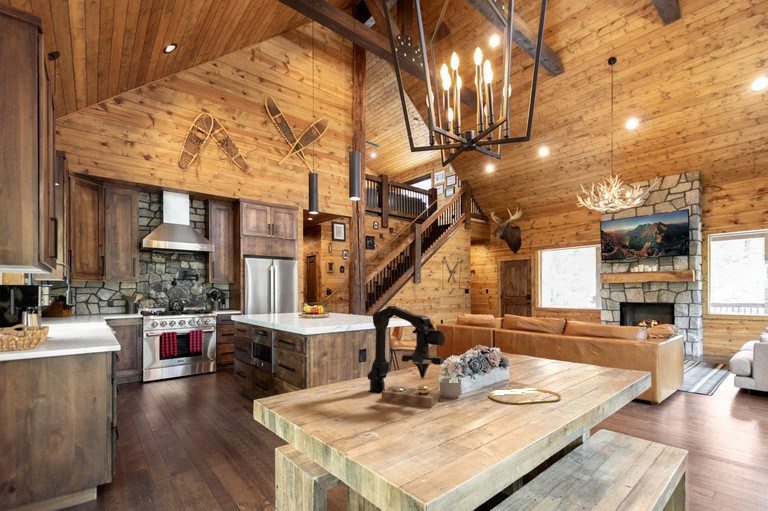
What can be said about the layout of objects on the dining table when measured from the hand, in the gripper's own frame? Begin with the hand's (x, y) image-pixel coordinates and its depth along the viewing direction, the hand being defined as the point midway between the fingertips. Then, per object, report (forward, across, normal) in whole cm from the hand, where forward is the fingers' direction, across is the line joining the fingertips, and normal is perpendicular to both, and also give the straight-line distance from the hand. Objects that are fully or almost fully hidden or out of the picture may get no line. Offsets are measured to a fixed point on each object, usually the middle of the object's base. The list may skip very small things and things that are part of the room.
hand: (422, 378), depth 176 cm
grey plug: (+10, -12, 0) cm, 15 cm away
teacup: (+11, +8, +16) cm, 21 cm away
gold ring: (+11, +41, +29) cm, 52 cm away
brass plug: (+7, 0, 0) cm, 7 cm away
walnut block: (+11, -6, 0) cm, 12 cm away
